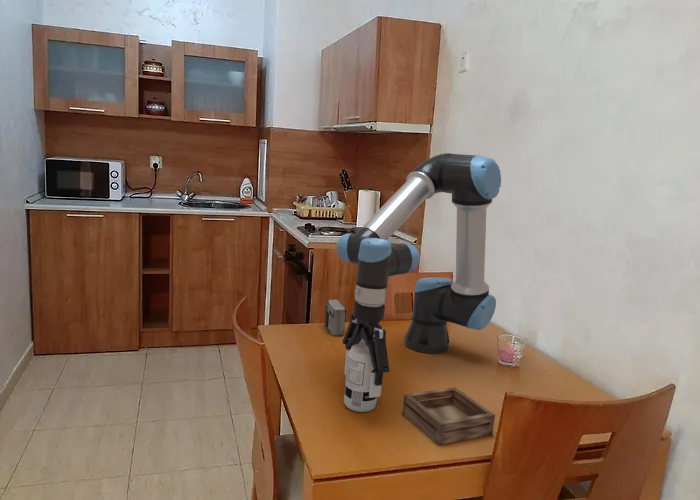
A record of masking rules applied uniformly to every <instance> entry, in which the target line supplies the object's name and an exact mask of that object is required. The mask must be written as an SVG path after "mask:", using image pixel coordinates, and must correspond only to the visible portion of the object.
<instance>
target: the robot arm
mask: <svg viewBox="0 0 700 500" xmlns="http://www.w3.org/2000/svg"><path fill="white" fill-rule="evenodd" d="M500 170H501V169H500V167H499V164H498V163H497V162H496V160H495V159H494V158H492V157H488V156H482V155H480V154H479V155H475V154H463V153H462V154H460V153H459V154H458V153H450V152H449V153H448V152H447V153H440V154H437V155H434V156H432V157H430V158H428V159H426V160H425V161H422V163H420V164H419V165H417V166H416V167H415V168H414V169H413V170H411V171H410V172H409V173H408V175H407V176H406V181H405V183H404V184H402V185H401V187H399V188H398V190H397V191H396V192H395V193H394V194H393V195H392V196H391V197H390V198H389V199H388V200H387V201H386V202H385V203H384V204H383V205H382V206H381V207H380V208H379V209H378V210H377V211H376V212H375V213H374V214H373V215H372V216H371V217H370V218H369V220H367V221H366V223H365V224H364V225H362V227H361V228H360V229H359V230H358V231H357V232H355V234H354V233H345V234H343V235H341V236H340V237H339V239H338V241H337V244H336V253H337V256H338V257H339V259H341V260H342V261H345V262H348V263H350V264H355V265H357V271H356V276H357V277H356V281H355V290H354V300H355V302H354V303H353V312H352V313H351V314H350V319H349V323H348V326H347V328H346V331H345V332H344V337H343V339H342V344H343V345H345V349H346V352H345V362H344V363H345V364H344V375H345V376H346V372H347V361H348V353H349V351H350V349H351V347H352V346H353V345H356V344H359V342H360V341H361V340H362V338H363V340H364V341H365V343H366V345H367V346H368V348H369V352H370V356H371V361H372V365H373V369H374V370H372V371H371V381H370V391H369V397H370V398H373V397H377V398H380V397H381V395H382V394H381V393H382V384H383V377H384V373H389V372H390V365H389V363H390V362H389V357H388V356H389V355H388V348H387V340H386V339H387V337H386V336H387V335H386V334H387V331H386V329H382V330H380V329H379V324H380V322H381V321H383V320H384V318H385V311H386V306H385V304H386V302H387V292H388V282H389V281H388V279H389V277H392V276H397V275H405V274H408V273H410V272H413V271H415V270H416V269H417V268H418V267H419V265H420V260H421V259H420V258H421V255H420V253H419V250H418V249H417V248H416V246H415V245H413V244H411V243H404V242H402V243H399V244H398V243H393V242H390V240H389V239H390V238H391V237H392V236H393V234H395V232H396V231H397V230H398V229H400V227H401V226H402V225H403V223H405V221H406V220H408V219H409V217H410V216H411V215H412V214H414V212H415V211H416V210H417V208H419V207H420V206H421V204H422V203H423V202H424V201H425V200H428V199H431V198H432V197H433V196H434V195H435V194H438V193H447V194H450V195H451V203H452V205H453V206H455V207H456V240H455V241H456V243H455V244H456V245H455V246H456V247H455V248H456V249H455V250H456V251H455V253H456V254H455V281H454V282H453V280H452V279H451V278H448V277H440V276H439V277H438V276H437V277H436V276H435V277H423V278H419V279H418V280H417V281H416V283H415V287H414V296H413V304H412V305H413V306H412V316H411V322H410V323H409V326H408V329H407V331H406V333H405V335H404V338H403V339H404V340H403V344H404V345H405V346H406V347H407V348H408V349H411V350H414V351H416V352H419V353H420V352H421V353H427V354H442V353H446V352H448V351H449V350H450V345H451V340H450V336H449V331H448V323H452V324H455V325H457V326H458V325H459V326H461V327H465V328H467V329H471V330H475V331H481V330H484V329H485V328H486V327H487V326H488V325H489V323H490V322H491V320H492V319H493V316H494V314H495V312H496V307H497V299H496V297H495V296H494V295H492V294H490V291H489V290H490V287H489V284H488V283H487V282H485V269H486V268H485V263H486V240H487V239H486V234H487V208H488V207H489V206H490V205H491V204H492V203H493V200H494V199H495V198H496V197H497V196H498V194H499V192H500V188H501V187H502V186H501V185H502V174H501V171H500Z"/></svg>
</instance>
